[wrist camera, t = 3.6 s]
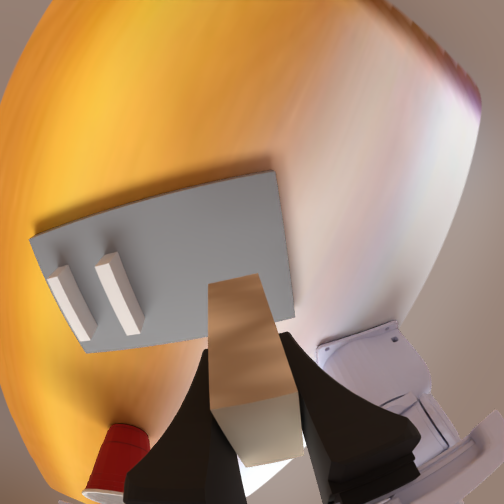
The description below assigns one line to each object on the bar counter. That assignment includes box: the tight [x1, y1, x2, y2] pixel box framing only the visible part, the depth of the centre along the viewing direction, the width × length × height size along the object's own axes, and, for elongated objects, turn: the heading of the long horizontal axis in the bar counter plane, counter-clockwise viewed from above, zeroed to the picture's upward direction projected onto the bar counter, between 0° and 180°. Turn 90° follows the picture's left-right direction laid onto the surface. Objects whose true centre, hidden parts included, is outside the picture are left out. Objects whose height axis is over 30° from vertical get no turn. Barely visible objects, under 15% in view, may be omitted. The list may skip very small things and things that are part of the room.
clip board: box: [29, 170, 295, 353], centre depth 19 cm, size 20×12×3 cm, turn 100°
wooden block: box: [208, 273, 304, 467], centre depth 11 cm, size 2×5×7 cm, turn 10°
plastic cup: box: [82, 424, 150, 504], centre depth 24 cm, size 11×11×12 cm
